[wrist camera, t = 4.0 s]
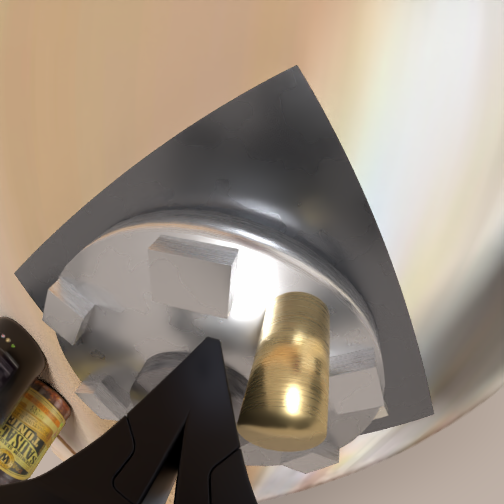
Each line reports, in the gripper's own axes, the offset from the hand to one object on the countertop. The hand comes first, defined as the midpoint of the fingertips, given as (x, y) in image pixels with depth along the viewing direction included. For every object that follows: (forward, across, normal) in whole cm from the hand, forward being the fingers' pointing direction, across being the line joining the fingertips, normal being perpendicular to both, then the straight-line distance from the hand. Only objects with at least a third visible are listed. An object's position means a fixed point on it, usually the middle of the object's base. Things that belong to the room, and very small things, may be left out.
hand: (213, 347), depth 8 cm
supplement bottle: (+8, +19, +17) cm, 27 cm away
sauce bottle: (+7, +18, +26) cm, 32 cm away
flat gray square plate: (+6, 0, +7) cm, 9 cm away
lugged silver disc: (+5, 0, +7) cm, 8 cm away
